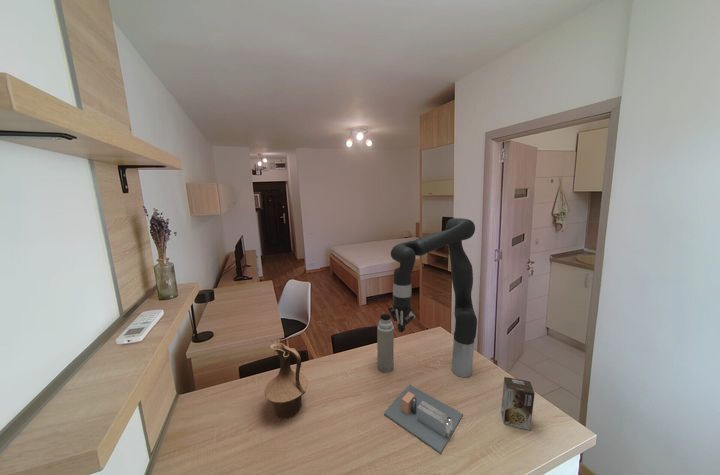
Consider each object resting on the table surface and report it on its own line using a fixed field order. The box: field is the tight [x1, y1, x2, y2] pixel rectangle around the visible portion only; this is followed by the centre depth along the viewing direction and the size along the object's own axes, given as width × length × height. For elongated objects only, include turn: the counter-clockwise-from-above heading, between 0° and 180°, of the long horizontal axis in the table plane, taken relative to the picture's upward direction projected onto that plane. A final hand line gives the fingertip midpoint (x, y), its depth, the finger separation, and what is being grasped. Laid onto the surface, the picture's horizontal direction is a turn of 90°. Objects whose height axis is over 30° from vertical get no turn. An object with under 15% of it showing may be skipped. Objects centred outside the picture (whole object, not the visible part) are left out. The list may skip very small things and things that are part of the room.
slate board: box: [383, 384, 464, 455], centre depth 105 cm, size 20×24×1 cm
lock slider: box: [401, 391, 415, 415], centre depth 107 cm, size 3×5×6 cm, turn 139°
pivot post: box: [412, 397, 417, 414], centre depth 105 cm, size 2×2×6 cm
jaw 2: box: [417, 405, 450, 438], centre depth 99 cm, size 12×2×6 cm, turn 49°
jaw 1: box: [420, 401, 453, 434], centre depth 100 cm, size 12×2×6 cm, turn 48°
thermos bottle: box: [376, 313, 395, 374], centre depth 130 cm, size 8×8×28 cm
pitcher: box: [264, 342, 309, 419], centre depth 107 cm, size 18×17×28 cm
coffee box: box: [500, 376, 536, 431], centre depth 101 cm, size 9×6×16 cm
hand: (401, 331), depth 112 cm, fingers closed
